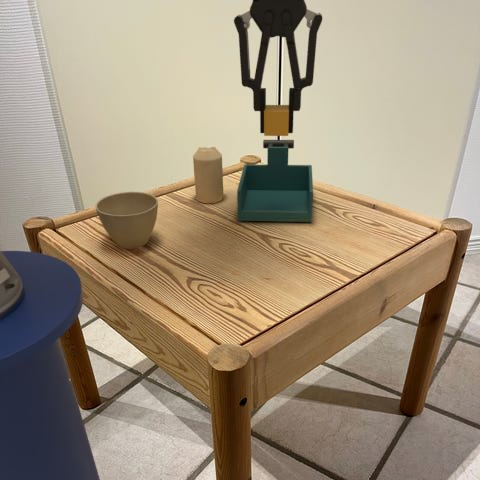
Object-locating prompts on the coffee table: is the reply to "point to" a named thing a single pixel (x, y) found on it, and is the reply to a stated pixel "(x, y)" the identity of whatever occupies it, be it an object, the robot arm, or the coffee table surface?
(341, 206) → the coffee table surface
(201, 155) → the candle
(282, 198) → the dustpan
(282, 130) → the block
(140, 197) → the beige bowl
